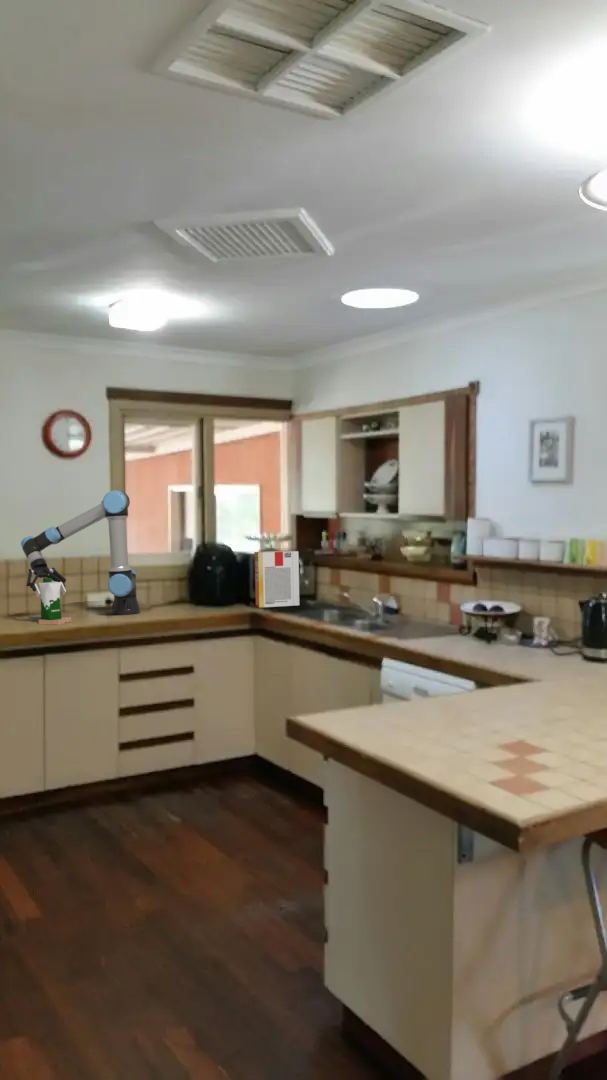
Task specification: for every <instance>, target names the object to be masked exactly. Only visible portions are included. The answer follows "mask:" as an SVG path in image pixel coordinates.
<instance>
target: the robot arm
mask: <svg viewBox="0 0 607 1080" xmlns="http://www.w3.org/2000/svg"><path fill="white" fill-rule="evenodd" d="M130 503H131V501H130V496H129V495H128V494H127V493H126V492H124V491H122V490H118V489H114V490H110V491H108V492H106V494H104V496H103V498H102V500H101V502H100V504H97V505H96V506H93V507H91V508H89V509H88V510H86V511H84V512H83V513H80V514H79V515H76V516H75V517H73V518H71V519H69V520H67V521H65V522H63V523H62V524H59V525H58V526H56V527H55V526H51V527H48V528H47V529H45V530H44V531H42V532H41V533H39V534H38V535H36V536H32V535H30V536H29V535H28V536H27V537H26V536H25V537H24V538H23V539H22V540H21V542H20V545H21V546H20V547H21V548H22V551H23V553H24V555H25V556H26V559H27V561H28V563H29V566H30V568H29V569H28V571H27V580H26V587H29V588H30V589H31V590H32V591H33V592H34V593H35V595H36V597H37V598H40V597H41V592H40V588H39V587H38V585H37V583H36V582H37V580H38V578H39V579H43V578H52V582H61V588H60V592H61V593H62V595H63V596H65V595H66V593H67V589H66V581H67V579H66V578H65V577H64V576H63V575H61V573H59V571H57V570H56V568H55V567H53V566H52V568H49V567H48V564H47V562H46V560H45V557H44V556H43V553H42V551H43V550H45V549H46V548H48V547H50V546H51V545H57V544H59V543H61V542H62V541H64V540H65V539H68V538H70V537H72V536H74V535H75V534H77V533H78V532H81V531H82V530H85V529H86V528H88V527H90V526H93V525H94V524H95V523H98V522H100V521H102V520H103V519H106V520H107V521H108V533H109V534H108V535H109V537H108V538H109V549H110V553H109V554H110V566H111V567H110V568H109V569H108V583H107V587H108V591H109V593H111V595H113V601H112V605H111V609H110V613H112V614H111V615H134V614H139V613H141V607H140V605H139V602H138V601H139V600H138V598H137V573H136V572H137V571H136V570H135V569H132V567H130V565H129V556H128V553H129V552H128V539H127V524H126V523H127V521H126V519H127V518H128V517H129V507H130V505H131V504H130ZM33 574H34V575H35V576H34V578H33V580H32V575H33Z"/></svg>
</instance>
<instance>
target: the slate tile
mask: <svg viewBox="0 0 607 1080" xmlns="http://www.w3.org/2000/svg"><path fill="white" fill-rule="evenodd" d="M61 616H62V617H63V615H62V613H61ZM29 618H30V619H29V620H30V621H31V622H32V621H34V622H39V620H41V614H36V615H32V616H30V617H29Z"/></svg>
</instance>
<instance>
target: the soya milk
mask: <svg viewBox="0 0 607 1080" xmlns="http://www.w3.org/2000/svg"><path fill="white" fill-rule="evenodd" d="M38 584H39V585H38V586H39V591H40V593H41V594H40V615H41V619H43V620H54V619H61V618H62V617H63V615H62V616H61V614H62V610H61V609H62V608H61V589H60V588H61V582H55V581H53V580H52V578H47V577H46V578H44V577H43V578H42V582H39V583H38Z"/></svg>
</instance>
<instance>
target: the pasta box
mask: <svg viewBox="0 0 607 1080" xmlns="http://www.w3.org/2000/svg"><path fill="white" fill-rule="evenodd" d="M299 563H300V559H299V550H275V551H274V550H271V551H254V578H255V579H254V581H255V582H254V583H255V585H254V586H255V588H254V590H255V606H256V605H257V606H258V607H257V606H256V607H257V608H259V609H260V608H275V607H291V606H292V607H293V606H300V568H299V567H300V565H299Z"/></svg>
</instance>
